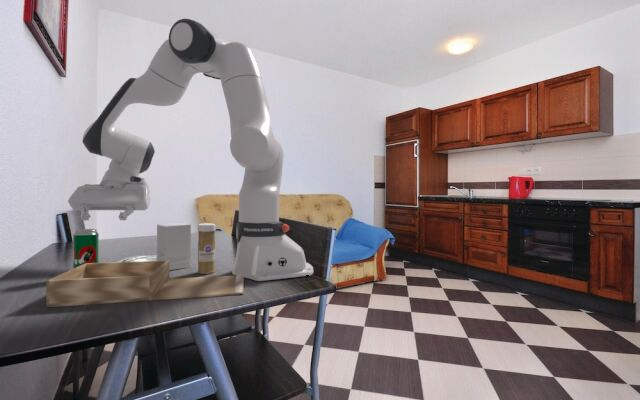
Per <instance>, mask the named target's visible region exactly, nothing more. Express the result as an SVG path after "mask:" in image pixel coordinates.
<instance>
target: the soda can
mask: <svg viewBox="0 0 640 400" xmlns="http://www.w3.org/2000/svg"><path fill="white" fill-rule="evenodd" d="M72 236H73V237H72V243H73V244H72V255H73V257H72V260H73V261H72V264H73V265H72V266H73V267H72V269H74V268H76V267H78V266H81V265H83V264H85V263H100V261H99V260H100V259H99V258H100V257H99V256H100V255H99V251H100V250H99V248H100V247H99V243H100V242H99V236H100V235H99V232H98V231H97V229H94V228H84V229H76V230H74V234H72Z"/></svg>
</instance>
